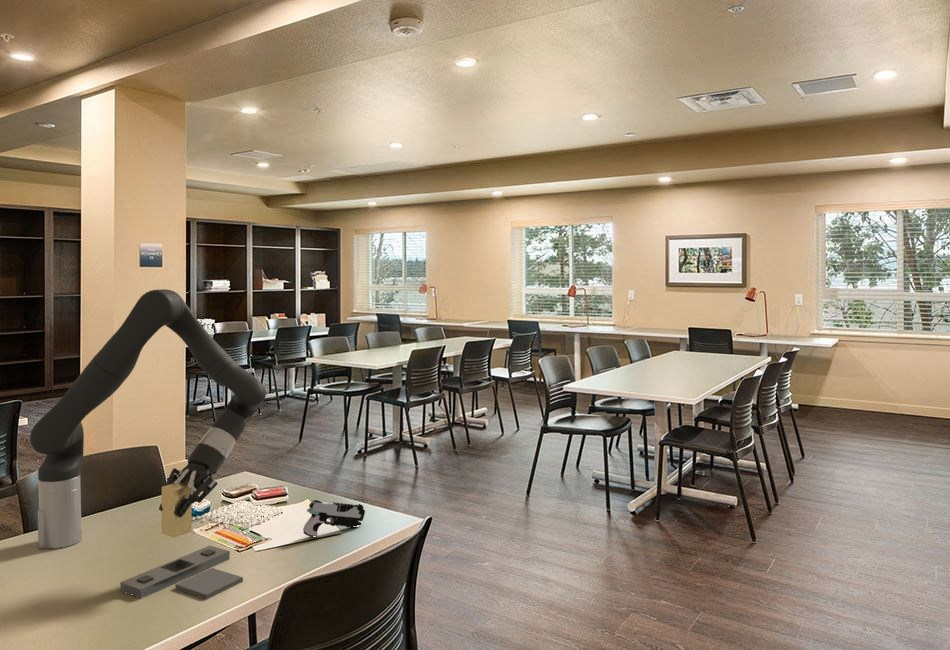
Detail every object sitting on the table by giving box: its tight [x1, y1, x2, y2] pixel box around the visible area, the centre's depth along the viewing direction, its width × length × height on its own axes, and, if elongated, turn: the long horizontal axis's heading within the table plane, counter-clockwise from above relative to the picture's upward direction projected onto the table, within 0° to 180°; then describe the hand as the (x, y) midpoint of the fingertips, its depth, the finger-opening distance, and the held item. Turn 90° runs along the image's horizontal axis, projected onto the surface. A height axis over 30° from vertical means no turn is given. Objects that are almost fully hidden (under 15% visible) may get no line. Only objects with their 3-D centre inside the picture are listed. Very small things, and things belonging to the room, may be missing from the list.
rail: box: [119, 545, 231, 599], centre depth 158 cm, size 24×7×2 cm, turn 152°
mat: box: [174, 567, 244, 600], centre depth 152 cm, size 10×10×1 cm
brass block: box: [161, 483, 193, 539], centre depth 157 cm, size 4×4×11 cm
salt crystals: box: [192, 500, 283, 530], centre depth 197 cm, size 20×20×2 cm
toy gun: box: [302, 499, 366, 538], centre depth 185 cm, size 2×17×10 cm, turn 128°
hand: (169, 513), depth 155 cm, fingers closed on brass block, 4 cm apart
